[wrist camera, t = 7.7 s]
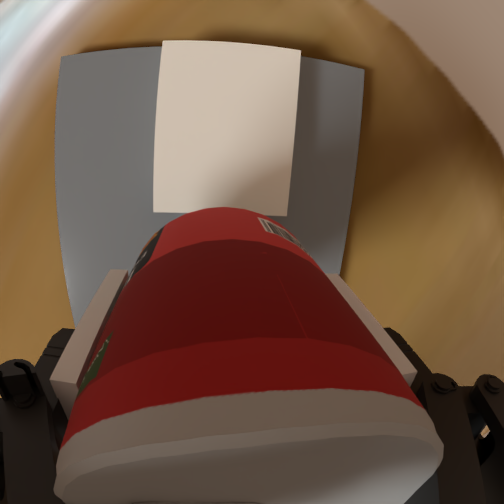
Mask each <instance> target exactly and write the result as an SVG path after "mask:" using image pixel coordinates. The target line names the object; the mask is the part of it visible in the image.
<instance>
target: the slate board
mask: <svg viewBox="0 0 504 504" xmlns="http://www.w3.org/2000/svg"><path fill="white" fill-rule="evenodd" d="M161 51H162V47H139V48H125V49H113V50H104V51H96V52H88V53H81V54H74V55H68V56H63V57H61V62H60V70H59V79H58V90H57V102H56V120H55V184H56V202H57V215H58V226H59V236H60V244H61V252H62V259H63V266H64V272H65V278H66V284H67V290H68V295H69V300H70V305H71V310H72V315H73V319H74V324H75V328H76V327H77V325H78V323H79V321H80V320H81V318H82V316H83V314H84V313H85V311H86V309H87V307H88V306H89V304H90V302H91V300H92V299H93V297H94V295H95V294H96V292H97V290H98V289H99V287H100V285H101V284H102V282H103V280H104V279H105V277H106V276H107V274H108V272H109V271H110V269H119V270H128V277H129V275H130V273H131V271H132V269H133V267H134V265H135V263H136V261H137V259H138V257H139V255H140V253H141V251H142V249H143V247H144V246H145V245H146V244H147V242H148V241H149V240H150V239H151V237H152V236H153V235H154V234H155V233H156V232H157V231H159V230H160V229H161V228H162V227H164V226H165V225H166V224H167V223H169V222H170V221H172V220H174V219H176V218H178V217H180V216H182V215H184V214H187V213H169V212H153V174H154V141H155V121H156V106H157V92H158V81H159V70H160V60H161ZM363 88H364V69H360V68H356V67H352V66H348V65H343V64H339V63H334V62H330V61H325V60H320V59H314V58H309V57H303V56H301V58H300V73H299V86H298V99H297V112H296V124H295V136H294V147H293V158H292V169H291V179H290V189H289V199H288V209H287V216H270V215H265V216H267V217H269V218H270V219H272V220H274V221H276V222H278V223H280V224H281V225H282V226H283V227H285V228H286V229H287V230H288V231H289V232H290V233H292V234H293V235H294V236H295V238H296V239H297V240H298V241H299V242H300V244H301V245H302V246H303V247H304V248H305V250H306V251H307V252H308V253H309V255H310V256H311V257H312V258H313V260H314V261H315V262H316V263H317V265H318V266H319V267H320V268H321V270H322V271H323V272H324V273H325V274H338V275H339V274H340V269H341V264H342V258H343V253H344V247H345V241H346V235H347V229H348V223H349V217H350V210H351V203H352V196H353V189H354V181H355V173H356V165H357V156H358V147H359V137H360V127H361V115H362V102H363Z"/></svg>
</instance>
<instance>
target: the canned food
mask: <svg viewBox="0 0 504 504" xmlns="http://www.w3.org/2000/svg"><path fill="white" fill-rule="evenodd" d="M443 450H444V444H443V443H442V441H441V439H440V438H439V436H438V435H437V433H436V430H435V427H434V423H433V422H432V420H431V418H430V417H429V415H428V413H427V412H426V410H425V409H424V407H423V406H422V404H421V403H420V401H419V400H418V398H417V397H416V396H415V394H414V393H413V391H412V390H411V388H410V387H409V385H408V383H407V382H406V380H405V379H404V377H403V376H402V374H401V373H400V371H399V370H398V368H397V367H396V366H395V364H394V363H393V362H392V360H391V359H390V358H389V356H388V355H387V354H386V352H385V351H384V349H383V348H382V347H381V345H380V344H379V343H378V342H377V340H376V339H375V338H374V336H373V335H372V334H371V332H370V331H369V330H368V328H367V327H366V326H365V324H364V323H363V322H362V320H361V319H360V318H359V317H358V315H357V314H356V313H355V311H354V310H353V309H352V308H351V306H350V305H349V304H348V302H347V301H346V300H345V299H344V297H343V296H342V295H341V293H340V292H339V291H338V290H337V288H336V287H335V286H334V285H333V283H332V282H331V281H330V280H329V278H328V277H327V276H326V275H325V273H324V272H323V271H322V270H321V268H320V267H319V266H318V265H317V263H316V262H315V261H314V260H313V258H312V257H311V256H310V255H309V253H308V252H307V251H306V250H305V248H304V247H303V246H302V245H301V244H300V242H299V241H298V240H297V239H296V238H295V236H294V235H293V234H292V233H290V232H289V231H288V230H287V229H286V228H285V227H283V226H282V225H281V224H280V223H278V222H276V221H274V220H272V219H270V218H269V217H267V216H265V215H263V214H259V213H256V212H253V211H250V210H247V209H240V208H231V207H216V208H205V209H201V210H197V211H194V212H190V213H187V214H184V215H182V216H180V217H178V218H176V219H174V220H172V221H170V222H169V223H167V224H166V225H165V226H164V227H162V228H161V229H160V230H159V231H157V232H156V233H155V234H154V235H153V236H152V237H151V239H150V240H149V241H148V242H147V244H146V245H145V246H144V247H143V249H142V251H141V253H140V255H139V257H138V259H137V261H136V263H135V265H134V267H133V269H132V271H131V273H130V275H129V277H128V279H127V281H126V283H125V285H124V287H123V289H122V291H121V293H120V295H119V297H118V300H117V302H116V304H115V306H114V308H113V310H112V312H111V315H110V317H109V319H108V321H107V323H106V326H105V328H104V330H103V332H102V335H101V337H100V339H99V342H98V344H97V346H96V349H95V351H94V353H93V356H92V358H91V361H90V363H89V365H88V368H87V370H86V373H85V375H84V378H83V381H82V383H81V386H80V388H79V391H78V394H77V396H76V399H75V402H74V404H73V408H72V411H71V414H70V418H69V421H68V425H67V429H66V432H65V435H64V438H63V441H62V444H61V448H60V451H59V455H58V459H57V464H56V474H57V476H56V480H55V484H54V489H53V490H54V493H55V495H56V496H58V497H59V498H60V499H62V500H63V502H64V503H65V504H404V503H405V502H406V501H407V500H408V499H409V498H410V497H411V496H412V495H413V494H414V492H415V491H416V490H417V489H419V488H420V487H421V486H422V485H423V484H424V483H425V482H426V481H427V480H428V479H429V478H430V477H431V476H432V475H433V474H434V472H435V471H436V469H437V468H438V467H439V465H440V463H441V461H442V459H443Z"/></svg>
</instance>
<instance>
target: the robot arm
mask: <svg viewBox="0 0 504 504" xmlns="http://www.w3.org/2000/svg"><path fill="white" fill-rule="evenodd" d="M325 275H326V276H327V277H328V278H329V280H330V281H331V282H332V283H333V285H334V286H335V287H336V288H337V290H338V291H339V292H340V293H341V295H342V296H343V297H344V299H345V300H346V301H347V302H348V304H349V305H350V306H351V308H352V309H353V310H354V311H355V313H356V314H357V315H358V317H359V318H360V319H361V320H362V322H363V323H364V324H365V326H366V327H367V328H368V330H369V331H370V332H371V334H372V335H373V336H374V338H375V339H376V340H377V342H378V343H379V344H380V345H381V347H382V348H383V349H384V351H385V352H386V354H387V355H388V356H389V358H390V359H391V360H392V362H393V363H394V364H395V366H396V367H397V368H398V370H399V371H400V373H401V374H402V376H403V377H404V379H405V380H406V382H407V383H408V385H409V387H410V388H411V390H412V391H413V393H414V394H415V396H416V397H417V398H418V400H419V401H420V403H421V404H422V406H423V407H424V409H425V410H426V412H427V413H428V415H429V417H430V418H431V420H432V422H433V423H434V427H435V430H436V433H437V435H438V436H439V438H440V439H441V441H442V443H443V444H444V450H443V459H442V461H441V463H440V465H439V467H438V468H437V469H436V471H435V472H434V474H433V475H432V476H431V477H430V478H429V479H428V480H427V481H426V482H425V483H424V484H423V485H422V486H421V487H420V488H419V489H417V490H416V491H415V492H414V494H413V495H412V496H411V497H410V498H409V499H408V500H407V501H406V502H405V503H404V504H504V383H503V382H502V381H501V380H500V379H499V378H497V377H496V376H493V375H488V374H484V375H481V376H479V378H478V379H477V381H476V382H475V384H474V386H458V385H457V383H456V382H455V381H454V380H453V379H452V378H450V377H448V376H446V375H443V374H439V373H435V374H432V372H431V371H430V370H429V369H428V367H427V366H426V365H425V364H424V363H423V361H422V360H421V359H420V358H419V356H418V355H417V354H416V353H415V352H414V351H413V349H412V348H411V347H410V346H409V345H407V342H406V341H405V340H404V339H403V337H402V336H401V335H400V334H399V333H397V332H395V331H394V330H392V329H391V328H383V327H382V326H381V325H380V324H379V323H378V321H377V320H376V319H375V318H374V316H373V315H372V314H371V313H370V312H369V310H368V309H367V308H366V307H365V306H364V304H363V303H362V302H361V301H360V300H359V298H358V297H357V296H356V295H355V294H354V293H353V291H352V290H351V289H350V288H349V287H348V285H347V284H346V283H345V282H344V281H343V280H342V278H341V277H340V276H339V275H338V274H325ZM127 279H128V270H119V269H110V271H109V272H108V274H107V276H106V277H105V279H104V280H103V282H102V284H101V285H100V287H99V289H98V290H97V292H96V294H95V295H94V297H93V299H92V300H91V302H90V304H89V306H88V307H87V309H86V311H85V313H84V314H83V316H82V318H81V320H80V321H79V323H78V325H77V327H76V329H67V328H62V329H61V330H60V331H58V332H57V333H56V334H55V335H53V336H52V338H51V340H50V341H49V343H48V345H47V348H45V350H44V351H43V353H42V356H41V357H40V358H39V360H38V362H37V364H36V365H35V367H34V366H33V365H32V364H31V363H30V362H29V361H26V360H23V359H13V360H10V361H6V362H5V363H3V364H1V365H0V395H1V397H2V398H0V504H65V503H64V502H63V500H62V499H60V498H59V497H58V496H56V495H55V493H54V490H53V489H54V484H55V480H56V476H57V474H56V464H57V459H58V455H59V451H60V448H61V444H62V441H63V438H64V435H65V432H66V429H67V425H68V421H69V418H70V414H71V411H72V408H73V404H74V402H75V399H76V396H77V394H78V391H79V388H80V386H81V383H82V381H83V378H84V375H85V373H86V370H87V368H88V365H89V363H90V361H91V358H92V356H93V353H94V351H95V349H96V346H97V344H98V342H99V339H100V337H101V335H102V332H103V330H104V328H105V326H106V323H107V321H108V319H109V317H110V315H111V312H112V310H113V308H114V306H115V304H116V302H117V300H118V297H119V295H120V293H121V291H122V289H123V287H124V285H125V283H126V281H127ZM486 425H487V426H488V428H489V430H490V432H489V434H488V435H487V436H486V437H485V438H483V437H482V435H481V434H480V433H481V432H482V430H483V429H484V428H485V426H486Z"/></svg>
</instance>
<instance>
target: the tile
mask: <svg viewBox="0 0 504 504" xmlns="http://www.w3.org/2000/svg"><path fill="white" fill-rule="evenodd" d="M300 58H301V50H295V49H289V48H282V47H274V46H266V45H257V44H247V43H236V42H220V41H190V40H174V41H163V43H162V51H161V60H160V70H159V81H158V92H157V106H156V121H155V141H154V174H153V212H169V213H190V212H194V211H197V210H201V209H205V208H216V207H231V208H240V209H247V210H250V211H253V212H256V213H259V214H263V215H270V216H287V209H288V199H289V189H290V179H291V169H292V158H293V147H294V136H295V124H296V112H297V99H298V86H299V73H300Z"/></svg>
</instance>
